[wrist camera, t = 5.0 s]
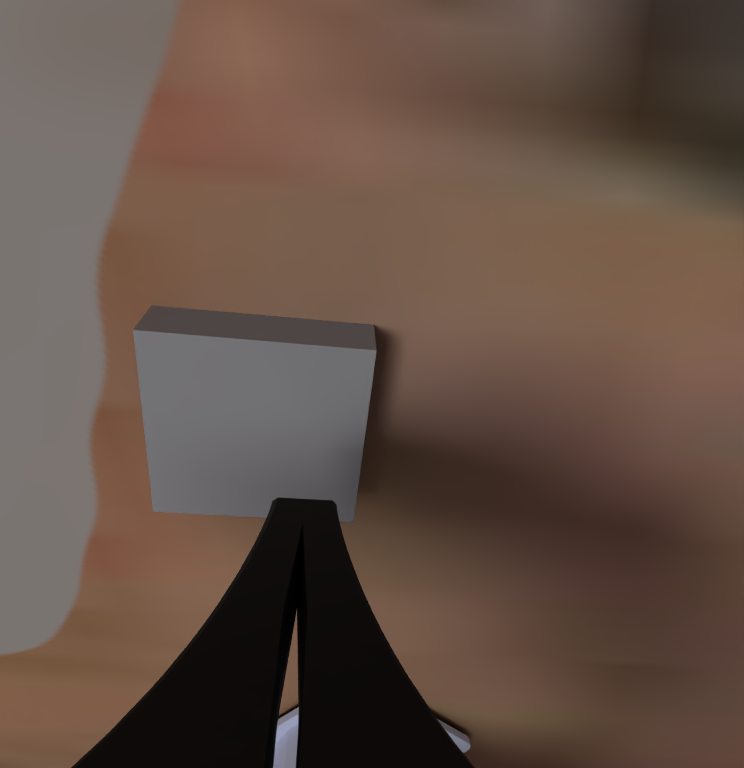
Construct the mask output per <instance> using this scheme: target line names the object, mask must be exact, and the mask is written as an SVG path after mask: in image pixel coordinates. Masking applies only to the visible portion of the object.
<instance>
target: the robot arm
mask: <svg viewBox="0 0 744 768" xmlns="http://www.w3.org/2000/svg"><path fill="white" fill-rule="evenodd" d="M296 611H297V632H298V700H299V707H297V708H296V709H294V710H293V711H291V712H289V713H288V714H286V715H284V716H283V717H281V718H280V719H278V717H279V709H280V703H281V697H282V691H283V686H284V680H285V674H286V668H287V663H288V657H289V651H290V646H291V640H292V634H293V628H294V622H295V617H296ZM470 747H471V746H470V740H469V737H468V736H466V735H465V734H463V733H461V732H459V731H458V730H456V729H454V728H452V727H451V726H449V725H447V724H445V723H444V722H442V721H440V720H439V719H437V718H436V717H435V716H434V714H433V713H432V711H431V710H430V708H429V707H428V705H427V704H426V702H425V701H424V699H423V698H422V696H421V695H420V693H419V692H418V690H417V689H416V687H415V686H414V684H413V683H412V681H411V680H410V678H409V677H408V675H407V674H406V672H405V670H404V669H403V667H402V665H401V664H400V662H399V660H398V659H397V657H396V655H395V654H394V652H393V650H392V648H391V646H390V645H389V643H388V641H387V639H386V637H385V636H384V634H383V632H382V630H381V628H380V626H379V624H378V622H377V620H376V618H375V616H374V614H373V612H372V610H371V607H370V605H369V603H368V601H367V599H366V597H365V594H364V592H363V590H362V587H361V585H360V583H359V580H358V578H357V575H356V572H355V570H354V567H353V564H352V562H351V559H350V556H349V553H348V550H347V547H346V544H345V541H344V538H343V534H342V530H341V527H340V522H339V517H338V512H337V504H336V503H335V502H334V501H333V500H317V499H298V498H279V497H278V498H276V499H275V500H273V501H272V504H271V507H270V510H269V513H268V515H267V518H266V520H265V523H264V525H263V527H262V529H261V532H260V534H259V536H258V538H257V540H256V542H255V544H254V546H253V547H252V549H251V551H250V553H249V554H248V556H247V558H246V560H245V562H244V563H243V565H242V567H241V569H240V571H239V572H238V574H237V575H236V577H235V579H234V580H233V582H232V583H231V585H230V586H229V588H228V589H227V591H226V593H225V594H224V596H223V597H222V599H221V600H220V602H219V603H218V605H217V606H216V608H215V609H214V611H213V612H212V613H211V615H210V616H209V618H208V619H207V620H206V622H205V623H204V625H203V626H202V627H201V629H200V630H199V631H198V633H197V634H196V635H195V636H194V638H193V639H192V640H191V642H190V643H189V644H188V646H187V647H186V648H185V649H184V650H183V652H182V653H181V654H180V655H179V656H178V658H177V659H176V660H175V661H174V662H173V664H172V665H171V666H170V667H169V668H168V670H167V671H166V672H165V673H164V674H163V676H162V677H161V678H160V679H159V680H158V681H157V682H156V683H155V685H154V686H153V687H152V688H151V689H150V690H149V691H148V692H147V693H146V694H145V695H144V696H143V697H142V699H141V700H140V701H139V702H138V703H137V704H136V705H135V706H134V707H133V708H132V709H131V710H130V711H129V712H128V713H127V714H126V715H125V716H124V717H123V718H122V719H121V721H120V722H119V723H118V724H117V725H116V726H115V727H114V728H113V729H112V730H111V731H110V732H109V733H108V734H107V735H106V736H105V737H104V738H103V739H102V740H101V741H99V742H98V743H97V744H96V745H95V746H94V747H93V748H92V749H91V750H90V751H89V752H88V753H87V754H85V755H84V756H83V757H82V758H81V759H80V760H79V761H78V762H77V763H76V764H75V765H74V766H73V767H71V768H475V767H474V766H473V765H472V764H471V762H470V761H469V760H468V759H467V757H466V756H465V755H464V754H463V753H464V752H466V751H468V750H469V749H470Z"/></svg>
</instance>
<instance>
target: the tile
mask: <svg viewBox="0 0 744 768" xmlns="http://www.w3.org/2000/svg"><path fill="white" fill-rule="evenodd" d="M133 334H134V343H135V352H136V361H137V370H138V379H139V388H140V396H141V405H142V414H143V423H144V432H145V441H146V450H147V459H148V468H149V477H150V486H151V495H152V504H153V512H170V513H188V514H207V515H225V516H244V517H262V518H267V515H268V513H269V510H270V507H271V504H272V501H273V500H275V499H276V498H278V497H279V498H298V499H317V500H333V501H334V502H335V503H336V504H337V512H338V517H339V522H354V514H355V507H356V500H357V492H358V485H359V477H360V470H361V462H362V455H363V448H364V440H365V433H366V425H367V418H368V411H369V403H370V396H371V388H372V381H373V374H374V366H375V359H376V351H377V349H376V340H375V331H374V325H369V324H358V323H346V322H335V321H323V320H312V319H300V318H289V317H277V316H266V315H254V314H242V313H231V312H219V311H208V310H196V309H185V308H173V307H162V306H151V307H150V308H149V310H148V311H147V312H146V314H145V315H144V316H143V318H142V319H141V320H140V322H139V323H138V324H137V325H136V327H135V328H134V329H133Z"/></svg>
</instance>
